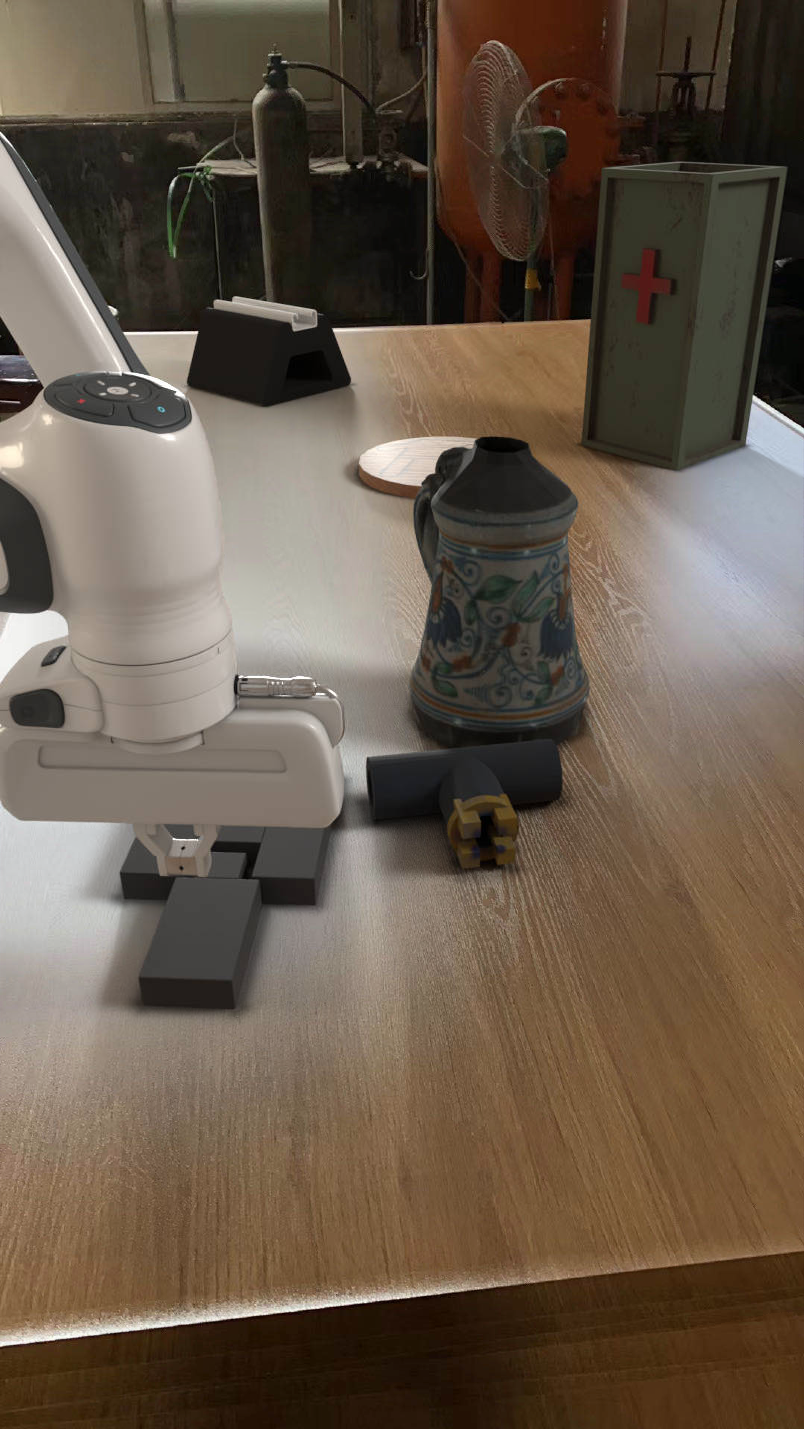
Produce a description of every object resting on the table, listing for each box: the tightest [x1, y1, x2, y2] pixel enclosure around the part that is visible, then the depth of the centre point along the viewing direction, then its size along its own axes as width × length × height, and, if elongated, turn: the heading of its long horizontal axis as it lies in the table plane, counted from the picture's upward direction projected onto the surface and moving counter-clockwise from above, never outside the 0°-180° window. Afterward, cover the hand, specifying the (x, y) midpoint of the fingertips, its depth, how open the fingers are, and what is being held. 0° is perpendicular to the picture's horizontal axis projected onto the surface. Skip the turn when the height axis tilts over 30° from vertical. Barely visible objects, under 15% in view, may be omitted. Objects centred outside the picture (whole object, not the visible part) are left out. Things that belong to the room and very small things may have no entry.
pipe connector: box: [365, 739, 563, 870], centre depth 84 cm, size 12×5×15 cm
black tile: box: [138, 852, 263, 1010], centre depth 74 cm, size 6×13×2 cm, turn 177°
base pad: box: [119, 821, 334, 906], centre depth 84 cm, size 14×16×2 cm
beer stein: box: [408, 435, 590, 749], centre depth 96 cm, size 16×19×25 cm
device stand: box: [186, 296, 352, 407], centre depth 208 cm, size 22×22×15 cm
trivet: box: [358, 436, 477, 499], centre depth 163 cm, size 25×25×2 cm
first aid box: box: [581, 161, 788, 471], centre depth 164 cm, size 18×18×40 cm
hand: (186, 870), depth 68 cm, fingers closed
